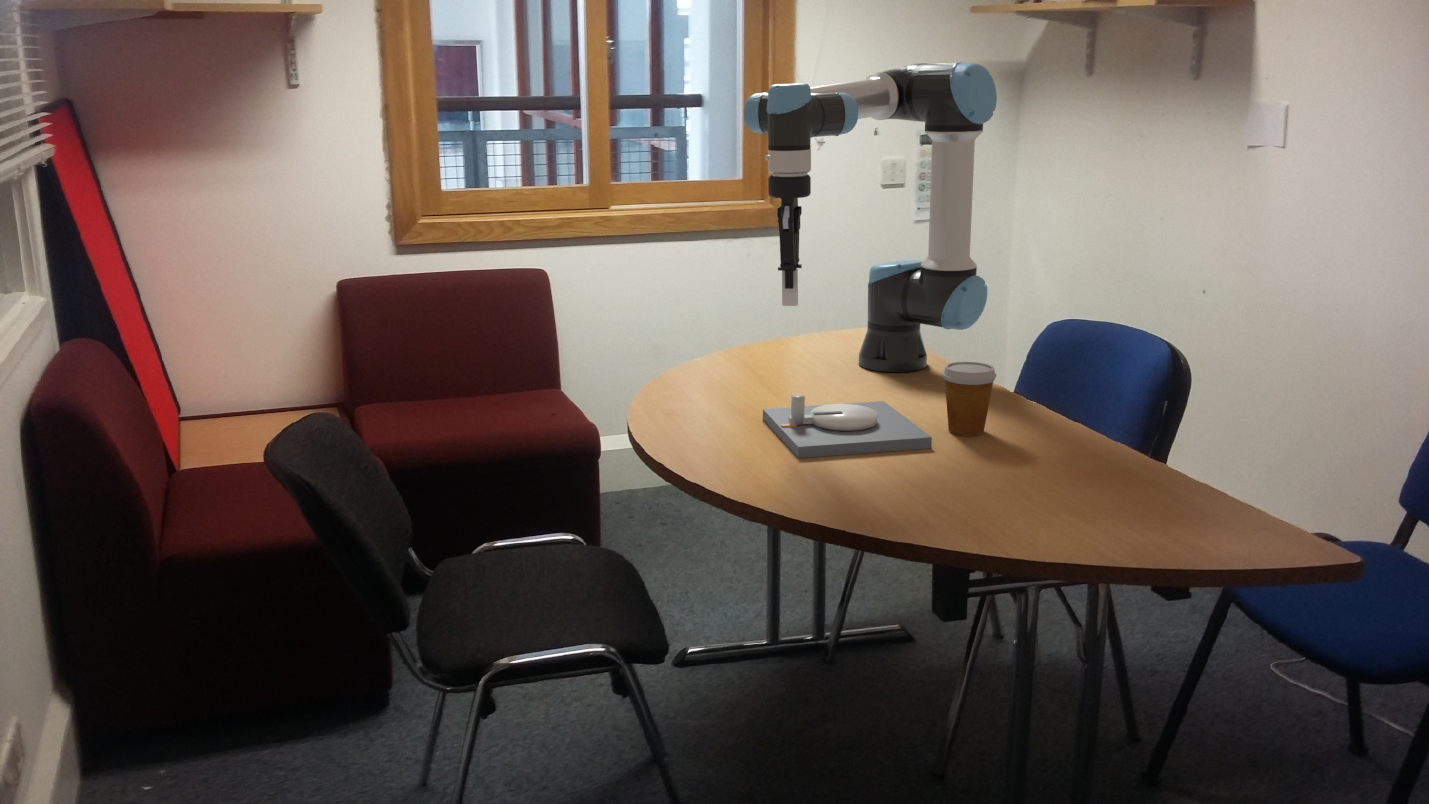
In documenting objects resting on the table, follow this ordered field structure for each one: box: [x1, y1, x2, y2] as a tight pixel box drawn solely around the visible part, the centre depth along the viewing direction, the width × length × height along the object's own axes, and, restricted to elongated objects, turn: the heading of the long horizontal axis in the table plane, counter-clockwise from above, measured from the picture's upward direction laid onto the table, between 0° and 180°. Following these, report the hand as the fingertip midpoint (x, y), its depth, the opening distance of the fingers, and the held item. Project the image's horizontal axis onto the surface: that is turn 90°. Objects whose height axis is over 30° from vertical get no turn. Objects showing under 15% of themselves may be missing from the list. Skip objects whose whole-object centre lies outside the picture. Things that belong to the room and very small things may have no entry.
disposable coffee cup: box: [941, 361, 997, 437], centre depth 210 cm, size 10×10×12 cm
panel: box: [762, 400, 933, 459], centre depth 210 cm, size 24×24×2 cm
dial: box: [788, 394, 878, 431], centre depth 209 cm, size 16×12×5 cm
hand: (790, 304), depth 212 cm, fingers closed
